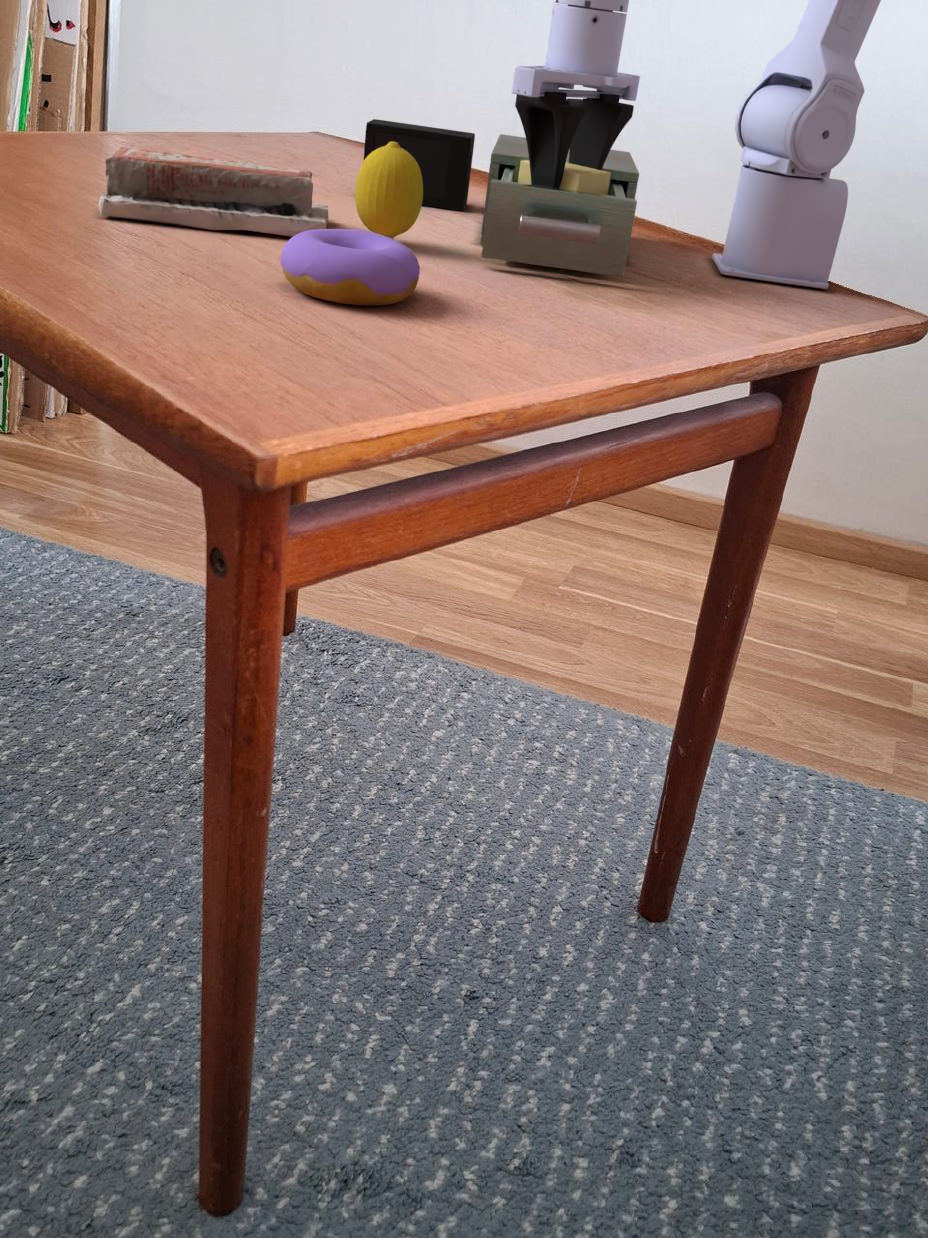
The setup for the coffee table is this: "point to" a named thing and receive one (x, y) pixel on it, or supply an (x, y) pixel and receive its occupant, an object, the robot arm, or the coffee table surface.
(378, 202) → the lemon
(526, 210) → the drawer
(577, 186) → the block
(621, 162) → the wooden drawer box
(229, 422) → the coffee table surface
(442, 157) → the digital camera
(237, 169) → the weathered stone block
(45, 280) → the coffee table surface
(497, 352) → the coffee table surface
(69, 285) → the coffee table surface
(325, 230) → the donut
